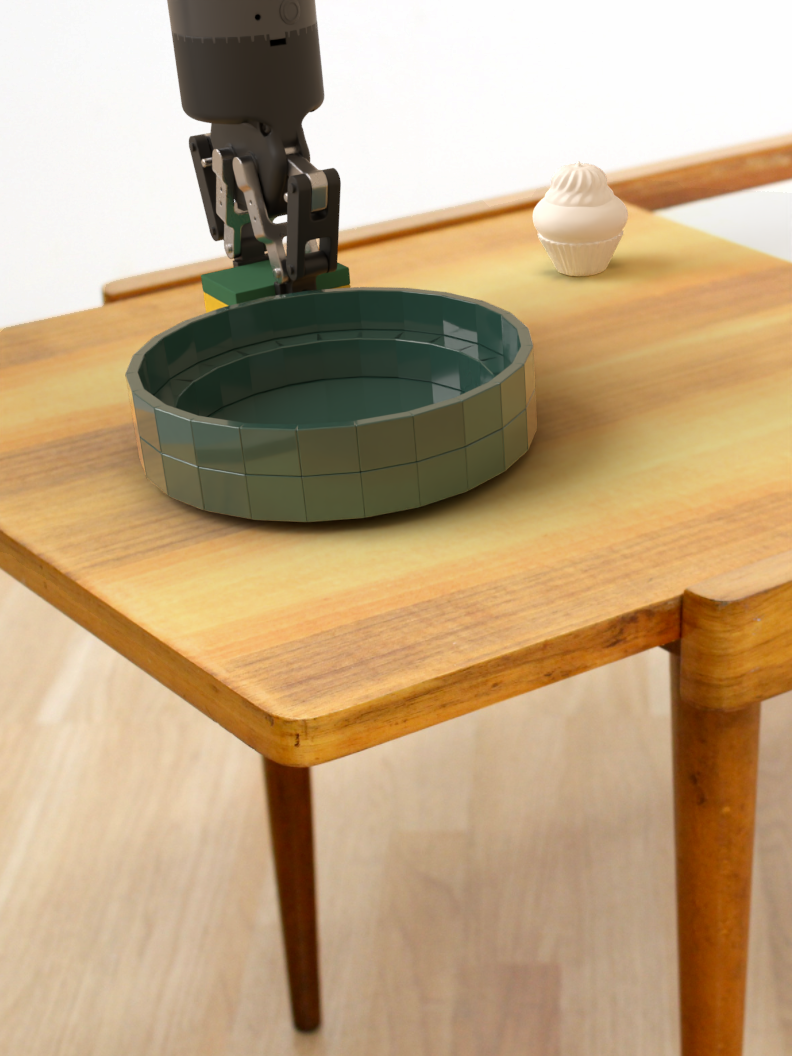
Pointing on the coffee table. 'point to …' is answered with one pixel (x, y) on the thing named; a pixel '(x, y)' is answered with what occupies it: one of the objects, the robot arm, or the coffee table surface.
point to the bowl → (333, 403)
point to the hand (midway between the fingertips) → (280, 329)
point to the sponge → (256, 284)
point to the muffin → (580, 220)
